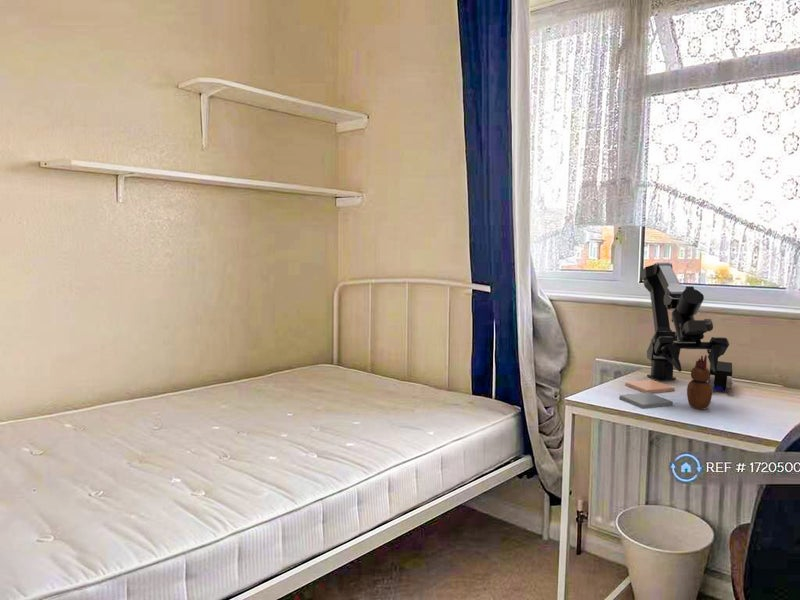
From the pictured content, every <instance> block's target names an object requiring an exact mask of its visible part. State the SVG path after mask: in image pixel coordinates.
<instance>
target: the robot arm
mask: <svg viewBox="0 0 800 600" xmlns="http://www.w3.org/2000/svg"><path fill="white" fill-rule="evenodd" d="M640 276H641V280H642V282H643V287H644V288H645V289H646V290H647V291H648V292H649V294H650V301H651V309H652V318H653V325H654V334H653V335H652V337H651V339H650V344H649V346H648V349H647V350H646V357H647V358H646V359H648V360H649V361H651V367H650V368H651V370H650V372H651V373H649V374H647V375H646V376H647V377H648V378H651V379H653V380H656V381H659V382H661V381H672V380H677V377H675V376H674V368H675V369H676V370H677V371H678V373H679V372H682V365H681V361H680V359H679V358H680V353H681V350H682V349H685V350H706V353H707V354H708V356H707V359H708V361H709V365H710V364H711V367H712V370H713V372H716V371H717V363H718V361H719V358H720V357H721V356H723V355H724V354H725V353H726V351H727V350H728V348H729V347H730V343H729V339H728V338H727V337H723V336H712V337H711V338H710V340H709V341H701V340H703V339H704V338H705V335H704V334H705V333H707V332H711V331H712V330H713V329H714V324H713V321H712V319H711V318H704V319H703V320H702V319H701V320H699V319H698V320H697V319H696V318H695V315H697V314H698V313H699V310H700V308H701V305H702V304H703V302H704V300H705V299H704V298H705V297H704V294H702V292H700V291H699V290H697V289H695V287H694V286H689V285H688V286H684V285H681V283H680V280H679V279H678V277H677V275H676V273H675V271H674V269H673V264H672V263H670V262H656V263H654V264H652V265H648V266H647V265H646V266H645V267H644V268H643V269H642V270H641V273H640ZM668 310H673V311H672V312H671V322H672V323H673V326H674V331H673V330H672V329H671V327H670V326H671V325H670V324H671V323H670V318H669V312H668Z"/></svg>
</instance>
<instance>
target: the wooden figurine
mask: <svg viewBox="0 0 800 600" xmlns="http://www.w3.org/2000/svg"><path fill="white" fill-rule="evenodd" d="M707 359H708V356H707V354H705V355H704V356H703V355H701V356H700V358H698V360H696V361H695V366H694V367H693V368H691V371H690V377H691V380H690V381H689V382H688V384H687V389H686V396H687V401H688V404H689V405H688V406H690V407H692V408H693V409H697V410H706V409H708V407H709V406H710V405H711V401H712V395H713V394H712V393H713V388H712V386H710V384H709V383H708V380H709V378H710V369H709V368H708V367H707Z"/></svg>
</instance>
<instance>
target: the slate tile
mask: <svg viewBox="0 0 800 600" xmlns="http://www.w3.org/2000/svg"><path fill="white" fill-rule="evenodd" d="M619 400H622V401H624V402H626V401H627V403H629V404H632V405H634V406H636V407H638V408H641V409H648V408H657V407H668V406H673V405H674V401H673V400H670V399H668V398H666V397H661V396H659V395H656V394H655V393H649V392H647V393H644V392H639V393H637V392H636V393H630V394H629V393H628V394H619Z"/></svg>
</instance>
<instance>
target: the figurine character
mask: <svg viewBox="0 0 800 600" xmlns="http://www.w3.org/2000/svg"><path fill="white" fill-rule="evenodd" d="M709 373H710V378H709V380H708V381H707V382H708V383H709V384H710V386H711V388H712V387H713V388H712V393H716V390H717V391H723V394H727V389H731V388H732V385H733V363H732V362H729V361H727V362H726V361H719V360H718V363H717V371H716V372H713V370H712V367H711V364H710V363H709Z"/></svg>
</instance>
